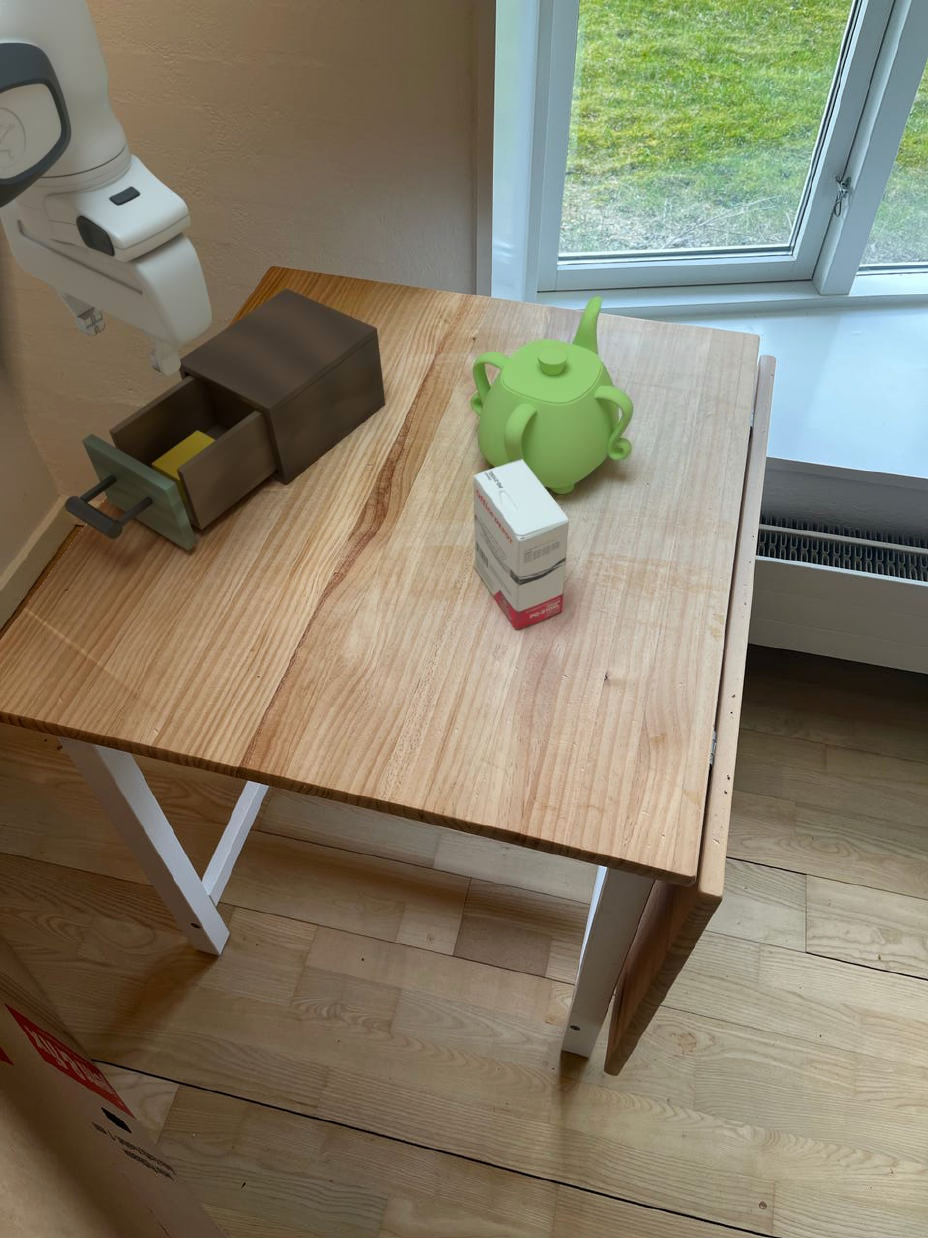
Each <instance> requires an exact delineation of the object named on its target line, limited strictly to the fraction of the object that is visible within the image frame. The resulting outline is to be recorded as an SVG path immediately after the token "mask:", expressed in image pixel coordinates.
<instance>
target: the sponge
mask: <svg viewBox="0 0 928 1238" xmlns="http://www.w3.org/2000/svg"><path fill="white" fill-rule="evenodd" d="M214 441H215V440H214V439H213V438H211V437H209V436H207V435H205V434H203V433H202V432H200V431H198V430H197V431H196V432H194V433H193V434H192V435H190V436H189V437H187V438H186V439H185V440H183V441H182V442H181V443H179V444H178V445H177V446H175V447H174V448H172V449H171V450H170V451H168V452H167V453H166V454H164V455H163V456H161V457H160V458H159V459H157V460H156V461H155V462H153V463H152V467H153V469H154V470H155V471H156V472H158V473H160V474H161V475H163V476H165V477H167V478H168V479H170V480H172V481H173V482H175V483H176V485H177V488H178V491H179V494H180V497H181V499H182V500H183V501H185V502H187V499H186V496H185V493H184V490H183V487H182V484H181V481H180V479H179V476H178V473H177V469H178V468H179V467H180V466H182V465H183V464H184V463H186V462H187V461H188V460H190V459H191V458H192V457H194V456H195V455H196V454H198V453H199V452H200V451H202V450H203V449H204V448H206V447H207V446H208V445H210V444H211V443H212V442H214ZM187 503H188V502H187Z"/></svg>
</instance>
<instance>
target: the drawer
mask: <svg viewBox="0 0 928 1238" xmlns="http://www.w3.org/2000/svg"><path fill="white" fill-rule="evenodd" d="M197 430H198V431H200V432H202V433H203V434H205V435H207V436H209V437H211V438H213V439H214V440H215V441H214V442H212V443H211V444H210V445H208V446H207V447H206V448H204V449H203V450H202V451H200V452H199V453H198V454H196V455H195V456H194V457H192V458H191V459H190V460H188V461H187V462H186V463H184V464H183V465H182V466H180V467H179V468H178V469H177V473H178V476H179V479H180V481H181V484H182V487H183V490H184V493H185V496H186V499H187V502H188V503H187V502H185V501H183V500H182V499H181V497H180V494H179V491H178V488H177V485H176V483H175V482H173V481H172V480H170V479H168V478H167V477H165V476H163V475H161V474H160V473H158V472H156V471H155V470H154V469H153V467H152V463H153V462H155V461H156V460H157V459H159V458H160V457H161V456H163V455H164V454H166V453H167V452H168V451H170V450H171V449H172V448H174V447H175V446H177V445H178V444H179V443H181V442H182V441H183V440H185V439H186V438H187V437H189V436H190V435H192V434H193V433H194V432H196V431H197ZM108 432H109V434H110V436H111V439H112V442H113V444H114V446H113V445H112V444H110V443H108V442H107V441H106V440H103V439H102V438H100V437H98V436H96V435H95V434H93V433H90V434H89V435H88V436H86V437H85V438H83V439H82V440H81V442H82V445H83V446H84V448H85V451H86V452H87V455H88V458H89V461H90V462H91V465H92V467H93V469H94V472H95V474H96V476H97V478H98V481H99V482H98V483H97V484H96V485H94V486H93V487H91V488H90V489H89V490H87V491H86V492H85V493H84V494H82V495H80V496H77V495H71V496H69V497H68V498H67V499H66V500H65V502H64V508H65V511H66V512H68V513H69V514H71V515H73V516H74V517H76V518H78V519H79V520H81V521H82V522H84V523H85V524H87V525H89V526H90V527H92V528H93V529H94V530H96V531H98V532H99V533H100V534H102V535H104V536H105V537H107V538H108V539H109V540H115V539H118V538H119V537H120V536H121V535H122V533H123V527H124V526H126V525H127V524H128V523H129V522H131V521H132V520H134V518H135V519H136V520H137V521H139V522H141V523H143V524H144V525H146V526H147V527H149V528H151V529H152V530H154V531H155V532H157V533H158V534H160V535H162V536H163V537H165V538H166V539H168V540H170V541H172V542H173V543H175V544H176V545H178V546H180V547H181V548H183V549H185V550H186V551H190V550H191V549H192V548H193V547H195V546H196V545H197V544H198V542H197V539H196V536H195V533H194V530H193V528H192V526H191V525H193V526H195V528H198V529H200V530H203V529H205V528H206V527H207V526H208V525H209V524H211V523H213V521H214V520H216V519H217V518H219V516H221V515H223V513H224V512H226V511H227V510H229V509H230V508H231V507H232V506H233V505H235V504H236V503H237V502H239V501H240V500H241V499H242V498H244V497H245V496H246V495H247V494H248V493H250V492H251V491H252V490H253V489H255V488H256V487H257V486H258V485H260V484H261V483H262V482H263V481H264V480H266V479H267V478H269V477H270V476H269V475H271V474H272V473H273V472H274V471H276V470H277V469H278V467H277V463H276V459H275V455H274V450H273V446H272V442H271V438H270V433H269V429H268V425H267V421H266V416H265V413H264V412H262V411H260V410H259V409H257V408H255V407H253V406H251V405H249V404H247V403H245V402H243V401H241V400H239V399H237V398H235V397H233V396H231V395H229V394H228V393H226V392H224V391H222V390H220V389H218V388H216V387H214V386H212V385H210V384H208V383H206V382H204V381H202V380H200V379H198V378H197V377H195V376H193V375H191V374H190V375H189V376H188V377H186V378H185V379H183V380H182V379H181V380H180V381H178V383H175V385H174V384H173V386H171V387H170V388H168V389H167V390H165V391H164V392H163V393H161V394H160V395H159V396H157V397H156V398H154V399H153V400H151V401H150V402H148V403H146V404H145V405H144V406H142V407H141V408H139V409H138V410H136V411H135V412H134V413H132V414H131V415H129V416H128V417H126V418H125V419H124V420H122V421H121V422H119V423H117V424H116V425H114V426H112V428H110V429H109V430H108ZM102 493H104V494H105V496H106V499H107V501H108V502H109V503H110V504H112V505H114V506H116V507H117V508H118V509H120V510H122V511H123V512H125V513H123V514H122V515H120V516H119V517H118V518H116V519H115V518H113V517H111V516H109V515H108V514H107V513H105V512H103V511H102V510H100V509H99V508H97V507H95V506H93V505H92V504H90V503H89V502H91V501H92V500H93V499H95V498H96V497H98V496H99V495H100V494H102Z"/></svg>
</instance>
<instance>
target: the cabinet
mask: <svg viewBox="0 0 928 1238" xmlns="http://www.w3.org/2000/svg"><path fill="white" fill-rule="evenodd" d="M378 333H379V332H378V328H377V327H375V326H373V325H371V324H368V323H367V322H364V321H362V320H360V319H357V318H355V317H353V316H351V315H348V314H346V313H344V312H342V311H339V310H336V309H334V308H333V307H330V306H328V305H325V304H323V303H321V302H319V301H316V300H314V299H312V298H310V297H307V296H305V295H303V294H301V293H298V292H296V291H294V290H291V289H289V288H287V287H286V288H284V289H283V290H282V291H279V292H278V293H277V294H275V295H274V296H272V297H270V298H269V299H268V300H266V301H265V302H263V303H262V304H260V305H259V306H257V307H256V308H255V309H253V310H252V311H250V312H248V313H247V314H246V315H243V316H242V317H241V318H239V319H238V320H237V321H235V322H234V323H232V324H230V325H229V326H227V327H226V328H225V329H223V330H221V331H220V332H219V333H217V334H216V335H214V336H213V337H211V338H209V339H208V340H206V341H205V342H204V343H202V344H201V345H199V346H197V347H196V348H195V349H193V350H192V351H191V352H189V353H187V354H185V355H184V356H183V357H181V358H180V362H181V366H180V369H179V370H178V371H179V374H180V378H181V381H182V380H183V379H185V378H186V377H188V376H189V375H190V374H191V375H193V376H195V377H197V378H198V379H200V380H202V381H204V382H206V383H208V384H210V385H212V386H214V387H216V388H218V389H220V390H222V391H224V392H226V393H228V394H229V395H231V396H233V397H235V398H237V399H239V400H241V401H243V402H245V403H247V404H249V405H251V406H253V407H255V408H257V409H259V410H260V411H262V412H264V413H265V416H266V421H267V425H268V429H269V433H270V438H271V442H272V446H273V450H274V455H275V459H276V463H277V467H278V469H277V470H276V471H274V472H273V473H272V474H271V475H269V476H268V477H271V478H273V479H275V480H277V481H278V482H280V483H282V484H283V485H286V486H288V485H289V484H290V483H291V482H292V481H293V480H295V479H296V478H297V477H298V476H299V475H301V474H302V473H303V472H305V471H306V470H307V469H308V468H309V467H311V466H312V465H313V464H314V463H315V462H317V461H318V460H319V459H320V458H322V457H323V456H324V455H325V454H327V452H329V451H330V450H331V449H332V448H334V447H335V446H336V445H338V444H339V443H340V442H341V441H343V439H345V438H346V437H347V436H349V435H350V434H351V433H352V432H353V431H354V430H356V429H357V428H358V427H360V426H361V425H362V424H363V423H364V422H366V421H367V420H368V419H369V418H371V416H373V415H374V414H375V413H377V412H378V411H379V410H380V409H381V408H383V407H384V406H385V405H386V397H385V387H384V379H383V370H382V361H381V352H380V342H379V334H378Z"/></svg>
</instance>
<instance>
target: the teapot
mask: <svg viewBox="0 0 928 1238" xmlns="http://www.w3.org/2000/svg"><path fill="white" fill-rule="evenodd" d="M602 303H603V300H602V298H601V296H599V295H597V296H594V297H592V298H591V299H590V300H589V301H588V302H587V304H586V306H585V308H584V309H583V312H582V315H581V316H582V317H581V319H580V322H579V324H578V328H577V330H576V333H575V336H574V338H573V340H572V343H569V342H566V341H561V340H558V339H552V338H551V339H550V338H541V339H540V338H539V339H536V340H533V341H531V342H528V343H526V344H525V345H523V346H521V347H520V348H518V349H517V350H516V351H514V353H513V354H512V355H510V357H509V356H507V355H506V354H504V353H503V352H500V351H495V350H491V351H486V352H483V353H482V354H480V355H479V356H478V357H477V358H476V359H475V360H474V362H473V364H472V376H473V381H474V384H475V388H476V390H477V392H475V393H473V395H472V396H471V399H470V407H471V409H472V411H473V412H474V413H475V414H476V415H478V416H479V422H478V427H477V428H478V429H477V442H478V444H477V445H478V448H479V450H480V452H481V454H482V455H483V457H484V458H485V460H487V462H488V463H489V464H491V465H492V466H493V468H495V467H499V466H502V465H505V464H508V463H511V462H514V461H517V460H520V459H522V460H523V461H524V462H525V463H526V465H527V466H528V467H529V468H530V470H531V471H532V472H533V473H534V475H535V476H536V477H537V478H538V480H539V481H540V482H541V484H542V485H543V486H544V487H545V488H549V489H550V490H551V491H552V493H555V494H559V495H565V494H569V493H571V492H572V491H573V490H574V488H575V484H577V483H578V482H579V481H581V480H583V479H584V478H586V477H587V476H589V475H590V474H591V473H592V472H593V471H594V470H595V469H597V468H598V467H599V466H600V465H601V464H602V463H603V462H604V461H605V460H606V458H607V457H608V458H609V459H611V460H613V461H624V460H626V459H627V458H629V456H630V455H631V453H632V449H633V448H632V443H631V442H630V440H628V439H627V438H626V437H622V436H623V434H624V433H625V432H626V430H627V428H628V427H629V425H630V423H631V421H632V418H633V415H634V403H633V401H632V399H631V398H630V396H629V395H628V394H627V393H626V392H624V391H623V390H622V389H620V388H618V387H615V386H614V383H613V380H612V377H611V375H610V373H609V371H608V369H607V367H606V365H605V363H604V361H603V359H602V358H601V357H600V356H599V348H598V321H599V317H600V312H601V308H602V305H603V304H602ZM486 365H492V366H494V367H495V368H498V369H499V372H498V374H497V375H496V377H495V378H494V381H493V382H492V384H490V381H489V379H488V376H487V371H486ZM619 409H620V410H621V417H620V411H619Z"/></svg>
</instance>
